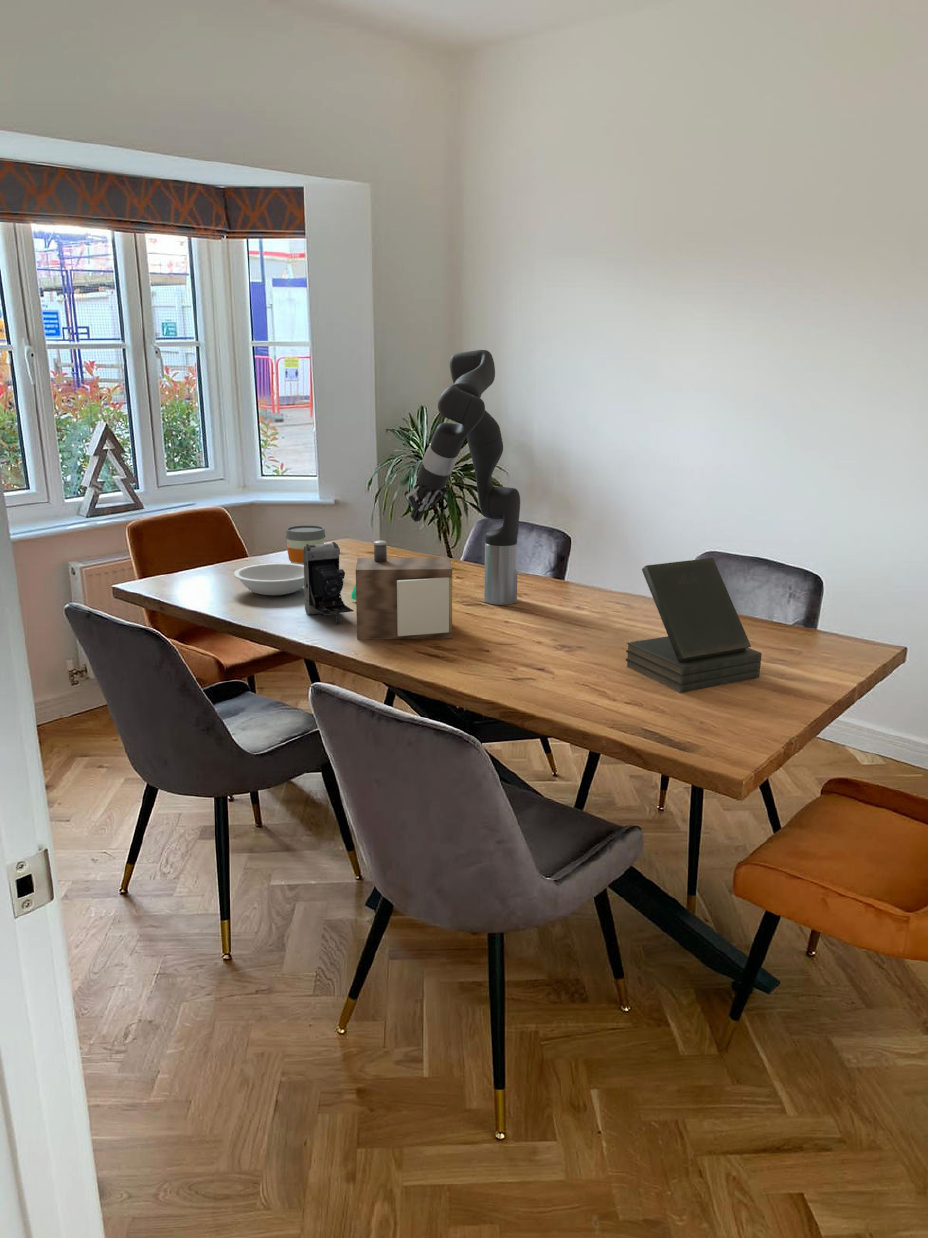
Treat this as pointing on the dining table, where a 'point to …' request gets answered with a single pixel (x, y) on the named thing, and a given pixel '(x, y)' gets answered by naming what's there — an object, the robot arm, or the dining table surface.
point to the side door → (424, 606)
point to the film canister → (380, 551)
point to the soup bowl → (272, 578)
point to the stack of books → (693, 630)
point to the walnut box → (391, 593)
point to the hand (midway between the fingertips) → (415, 519)
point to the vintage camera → (323, 580)
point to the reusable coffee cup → (302, 540)
